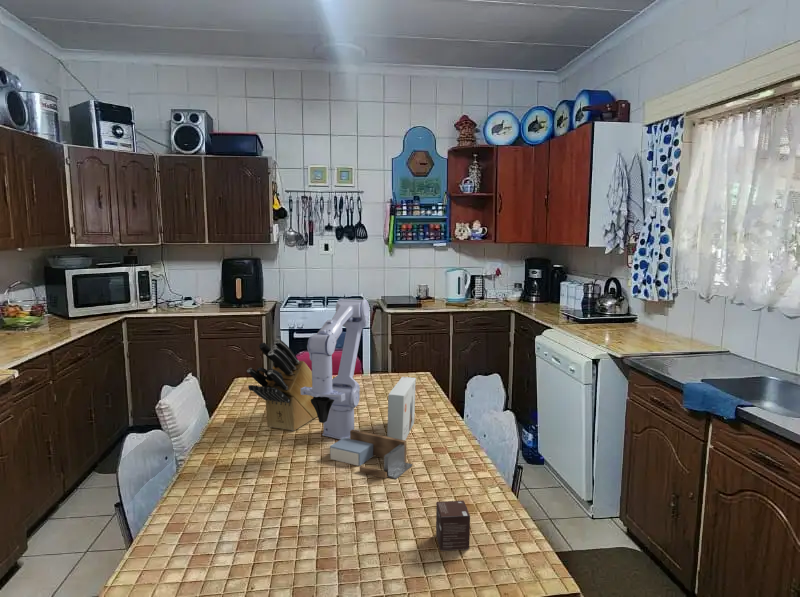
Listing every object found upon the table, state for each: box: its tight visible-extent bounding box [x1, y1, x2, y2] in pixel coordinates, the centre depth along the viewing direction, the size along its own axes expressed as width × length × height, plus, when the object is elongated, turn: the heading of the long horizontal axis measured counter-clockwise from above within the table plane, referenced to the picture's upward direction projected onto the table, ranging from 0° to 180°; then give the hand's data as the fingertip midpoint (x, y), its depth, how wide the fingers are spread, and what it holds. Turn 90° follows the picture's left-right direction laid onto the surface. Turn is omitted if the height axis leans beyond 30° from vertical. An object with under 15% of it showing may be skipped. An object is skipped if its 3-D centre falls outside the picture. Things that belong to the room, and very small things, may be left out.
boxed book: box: [329, 438, 374, 467], centre depth 144 cm, size 10×7×4 cm
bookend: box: [383, 444, 413, 480], centre depth 136 cm, size 4×9×6 cm, turn 151°
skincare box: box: [386, 376, 417, 441], centre depth 162 cm, size 21×6×16 cm, turn 168°
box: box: [435, 499, 471, 552], centre depth 104 cm, size 6×6×7 cm
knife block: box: [246, 338, 318, 432], centre depth 172 cm, size 11×35×31 cm, turn 156°
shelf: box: [350, 429, 408, 479], centre depth 141 cm, size 18×12×6 cm, turn 61°
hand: (323, 421), depth 147 cm, fingers closed
